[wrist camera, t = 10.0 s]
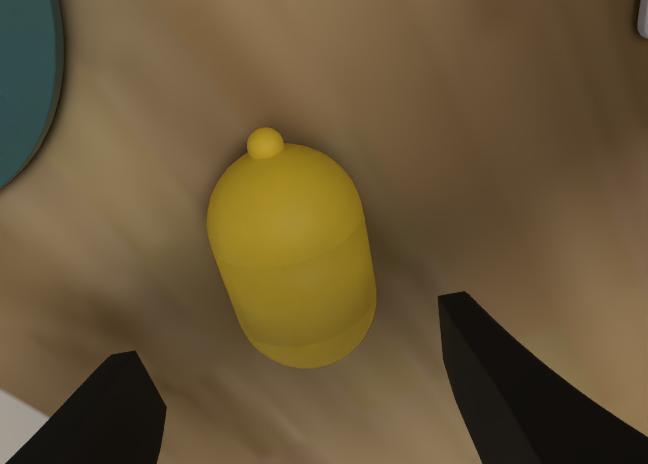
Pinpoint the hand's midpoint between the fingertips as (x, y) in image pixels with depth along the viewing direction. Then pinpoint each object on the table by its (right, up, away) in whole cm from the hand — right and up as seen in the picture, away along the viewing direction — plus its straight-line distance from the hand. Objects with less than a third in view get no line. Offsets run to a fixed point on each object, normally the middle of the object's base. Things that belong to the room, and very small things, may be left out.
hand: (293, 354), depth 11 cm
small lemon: (0, +3, +5) cm, 6 cm away
